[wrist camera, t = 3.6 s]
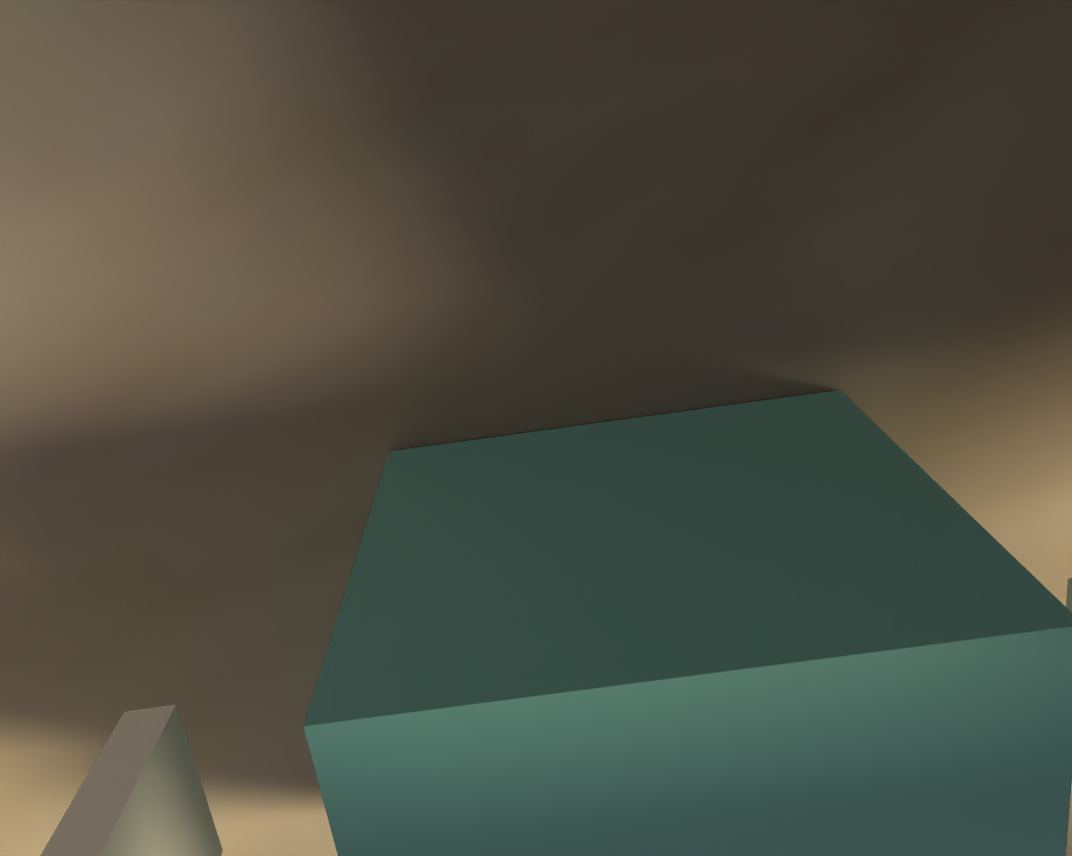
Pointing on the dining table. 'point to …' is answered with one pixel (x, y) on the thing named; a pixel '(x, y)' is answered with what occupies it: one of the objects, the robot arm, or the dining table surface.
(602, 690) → the mint green cube
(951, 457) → the dining table surface
